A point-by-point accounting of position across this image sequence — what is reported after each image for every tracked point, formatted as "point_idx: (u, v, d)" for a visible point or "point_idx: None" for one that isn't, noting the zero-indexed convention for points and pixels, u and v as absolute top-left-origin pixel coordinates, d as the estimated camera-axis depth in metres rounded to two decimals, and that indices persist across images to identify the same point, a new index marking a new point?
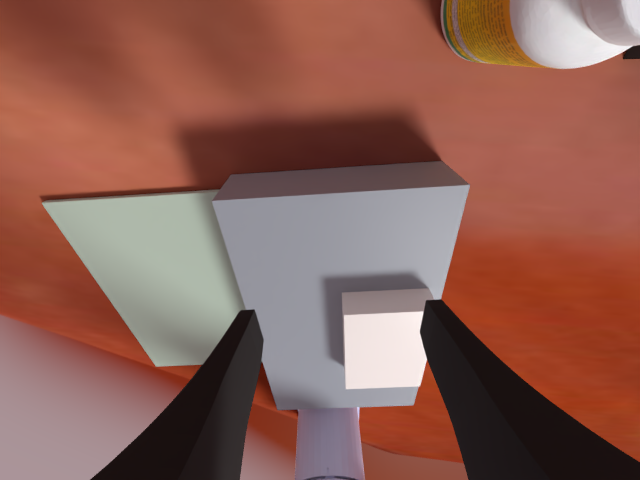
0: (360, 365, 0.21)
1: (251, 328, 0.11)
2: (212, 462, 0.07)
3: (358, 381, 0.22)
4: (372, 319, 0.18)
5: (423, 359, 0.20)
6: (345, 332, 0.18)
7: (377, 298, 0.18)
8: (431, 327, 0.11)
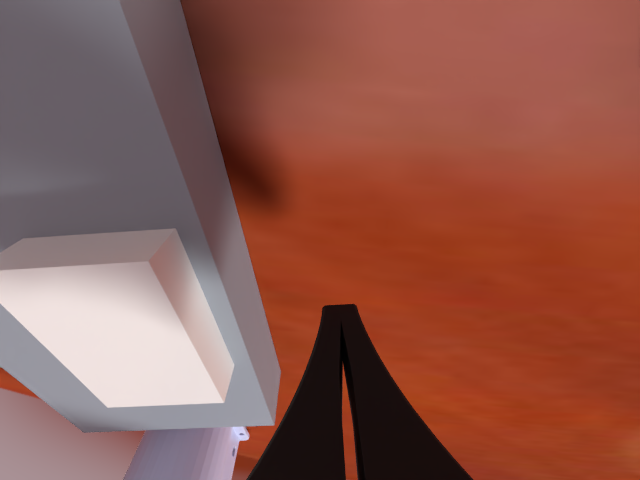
0: (93, 369, 0.12)
1: None
2: None
3: (116, 395, 0.13)
4: (32, 281, 0.09)
5: (194, 358, 0.12)
6: (8, 308, 0.10)
7: (67, 245, 0.10)
8: (341, 332, 0.11)
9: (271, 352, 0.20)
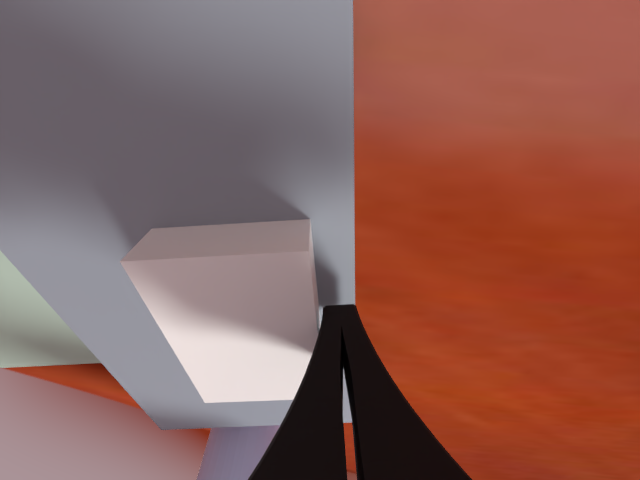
0: (207, 363, 0.12)
1: None
2: None
3: (219, 390, 0.13)
4: (181, 271, 0.09)
5: None
6: (145, 300, 0.10)
7: (206, 235, 0.10)
8: None
9: None
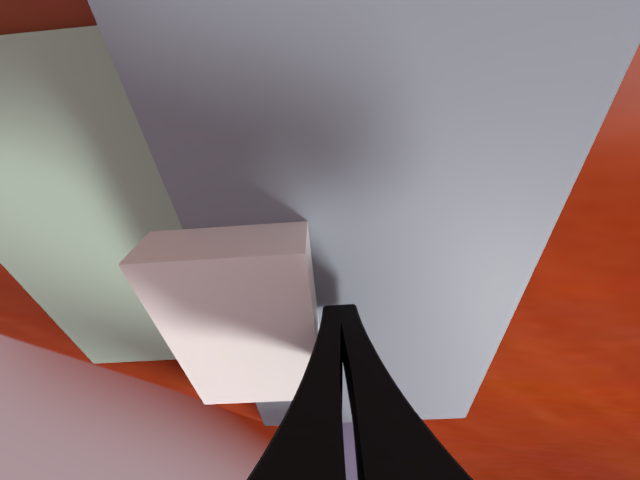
0: (205, 364, 0.12)
1: None
2: None
3: (218, 392, 0.13)
4: (179, 274, 0.09)
5: None
6: (143, 302, 0.10)
7: (204, 238, 0.10)
8: (341, 332, 0.11)
9: None
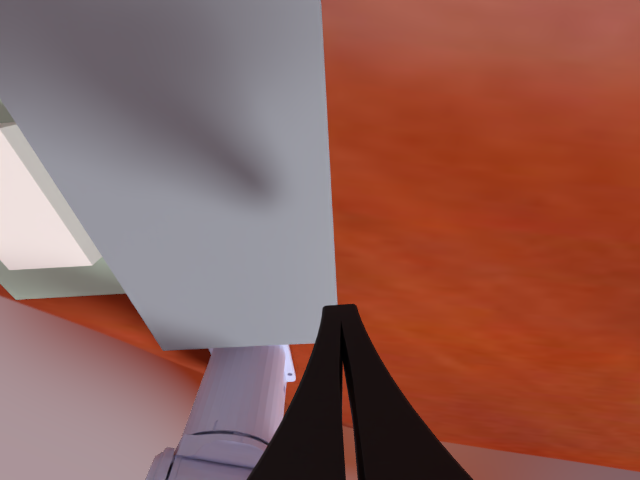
0: None
1: None
2: None
3: None
4: None
5: None
6: None
7: None
8: (341, 332, 0.11)
9: None
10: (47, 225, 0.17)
